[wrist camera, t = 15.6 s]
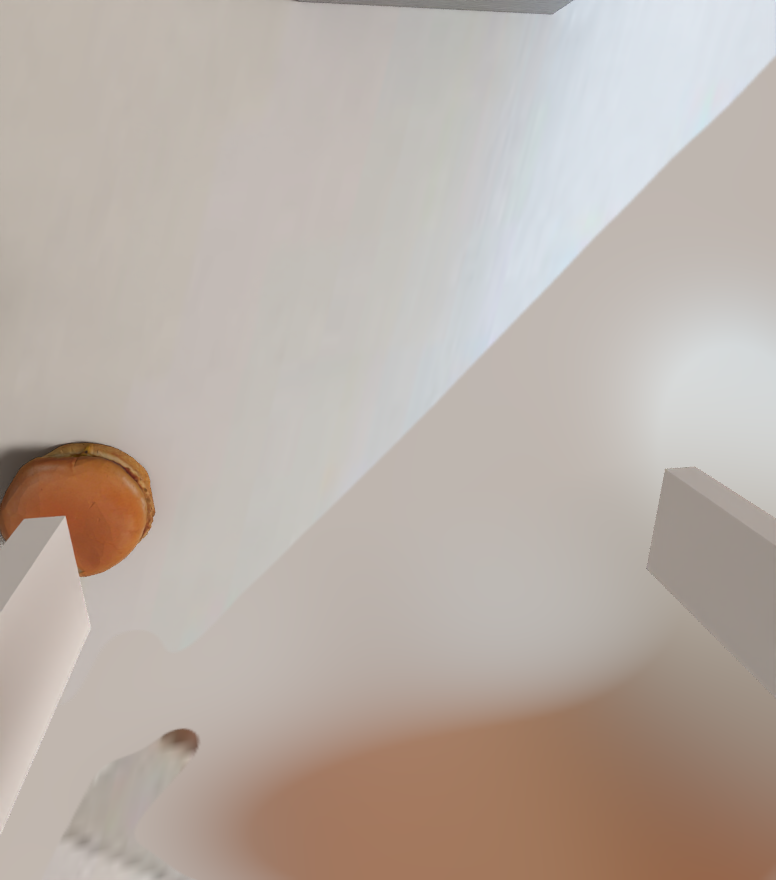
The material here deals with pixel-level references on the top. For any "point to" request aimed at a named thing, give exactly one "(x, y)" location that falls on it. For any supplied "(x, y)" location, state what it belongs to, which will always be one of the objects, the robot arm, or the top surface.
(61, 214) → the top surface
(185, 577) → the top surface
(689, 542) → the robot arm
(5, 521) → the burger
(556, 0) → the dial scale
